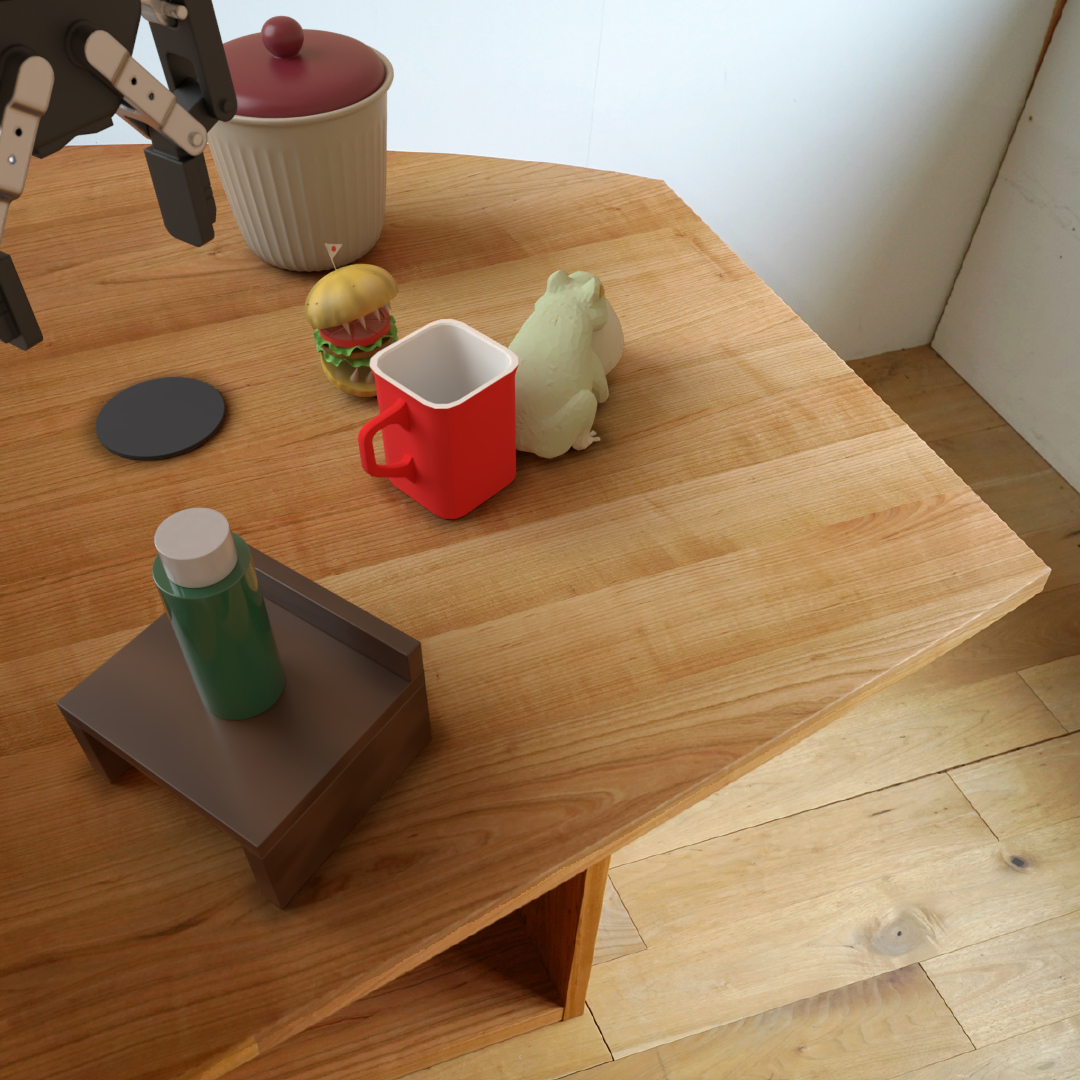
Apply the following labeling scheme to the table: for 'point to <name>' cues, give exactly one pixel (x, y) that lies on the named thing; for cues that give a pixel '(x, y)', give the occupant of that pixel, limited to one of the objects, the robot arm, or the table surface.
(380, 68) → the canister
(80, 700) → the shelf
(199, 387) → the coaster
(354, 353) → the hamburger
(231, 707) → the bottle
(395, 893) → the table surface
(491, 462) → the mug
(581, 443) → the figurine
